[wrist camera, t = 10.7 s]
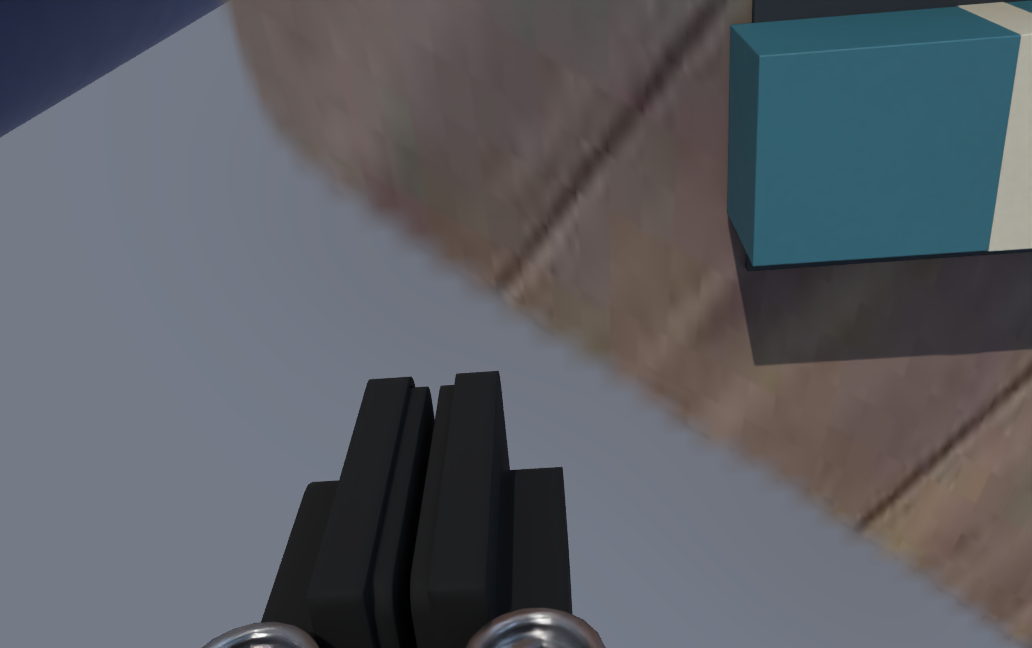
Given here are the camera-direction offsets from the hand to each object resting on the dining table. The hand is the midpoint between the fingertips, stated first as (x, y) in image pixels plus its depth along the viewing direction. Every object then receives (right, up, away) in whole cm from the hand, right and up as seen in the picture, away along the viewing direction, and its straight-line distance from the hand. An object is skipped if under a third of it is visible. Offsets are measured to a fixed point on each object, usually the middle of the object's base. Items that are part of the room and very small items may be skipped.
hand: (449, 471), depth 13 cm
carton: (+9, +8, +21) cm, 24 cm away
